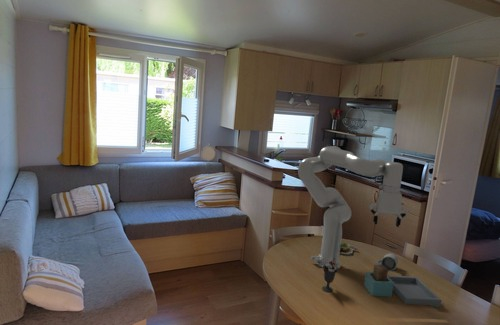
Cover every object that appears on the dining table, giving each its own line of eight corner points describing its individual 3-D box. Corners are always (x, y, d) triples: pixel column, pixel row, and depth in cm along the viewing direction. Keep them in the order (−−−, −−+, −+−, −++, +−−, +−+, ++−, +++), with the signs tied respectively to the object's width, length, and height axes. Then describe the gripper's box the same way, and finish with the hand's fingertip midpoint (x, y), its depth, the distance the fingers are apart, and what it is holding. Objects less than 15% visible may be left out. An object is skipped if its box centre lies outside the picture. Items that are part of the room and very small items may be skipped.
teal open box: (371, 297, 154) (374, 282, 153) (363, 286, 163) (366, 272, 162) (391, 298, 155) (393, 282, 154) (382, 287, 164) (384, 272, 163)
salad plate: (357, 247, 211) (358, 240, 211) (357, 259, 195) (358, 251, 194) (325, 241, 217) (326, 234, 216) (322, 251, 200) (323, 244, 199)
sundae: (335, 287, 160) (339, 257, 158) (334, 294, 154) (338, 263, 151) (321, 284, 162) (325, 254, 160) (319, 291, 156) (323, 259, 153)
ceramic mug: (397, 267, 188) (399, 253, 186) (395, 272, 181) (397, 259, 179) (377, 261, 193) (378, 248, 192) (374, 267, 186) (375, 253, 184)
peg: (374, 292, 157) (378, 269, 155) (370, 287, 161) (374, 264, 159) (384, 293, 157) (388, 269, 155) (379, 288, 161) (383, 265, 159)
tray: (404, 305, 150) (406, 298, 149) (384, 282, 170) (385, 275, 169) (440, 307, 151) (441, 299, 151) (415, 283, 171) (416, 276, 170)
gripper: (372, 188, 157) (367, 225, 160) (413, 193, 154) (407, 230, 157) (370, 185, 165) (366, 220, 167) (409, 189, 161) (404, 224, 164)
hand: (386, 224), depth 162 cm, fingers open, 9 cm apart
